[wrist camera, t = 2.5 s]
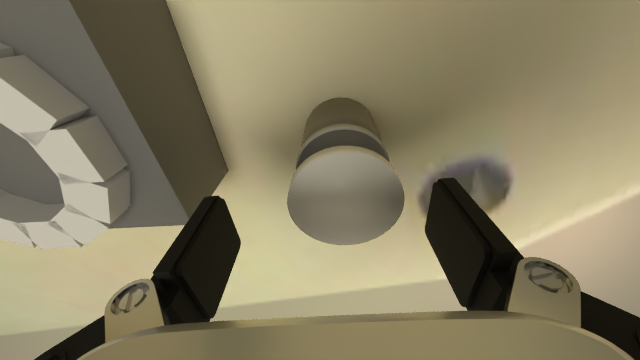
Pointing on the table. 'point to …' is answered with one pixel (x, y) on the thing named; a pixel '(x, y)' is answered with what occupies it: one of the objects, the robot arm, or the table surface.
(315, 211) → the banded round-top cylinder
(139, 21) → the grey block with hole
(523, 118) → the table surface
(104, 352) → the robot arm
